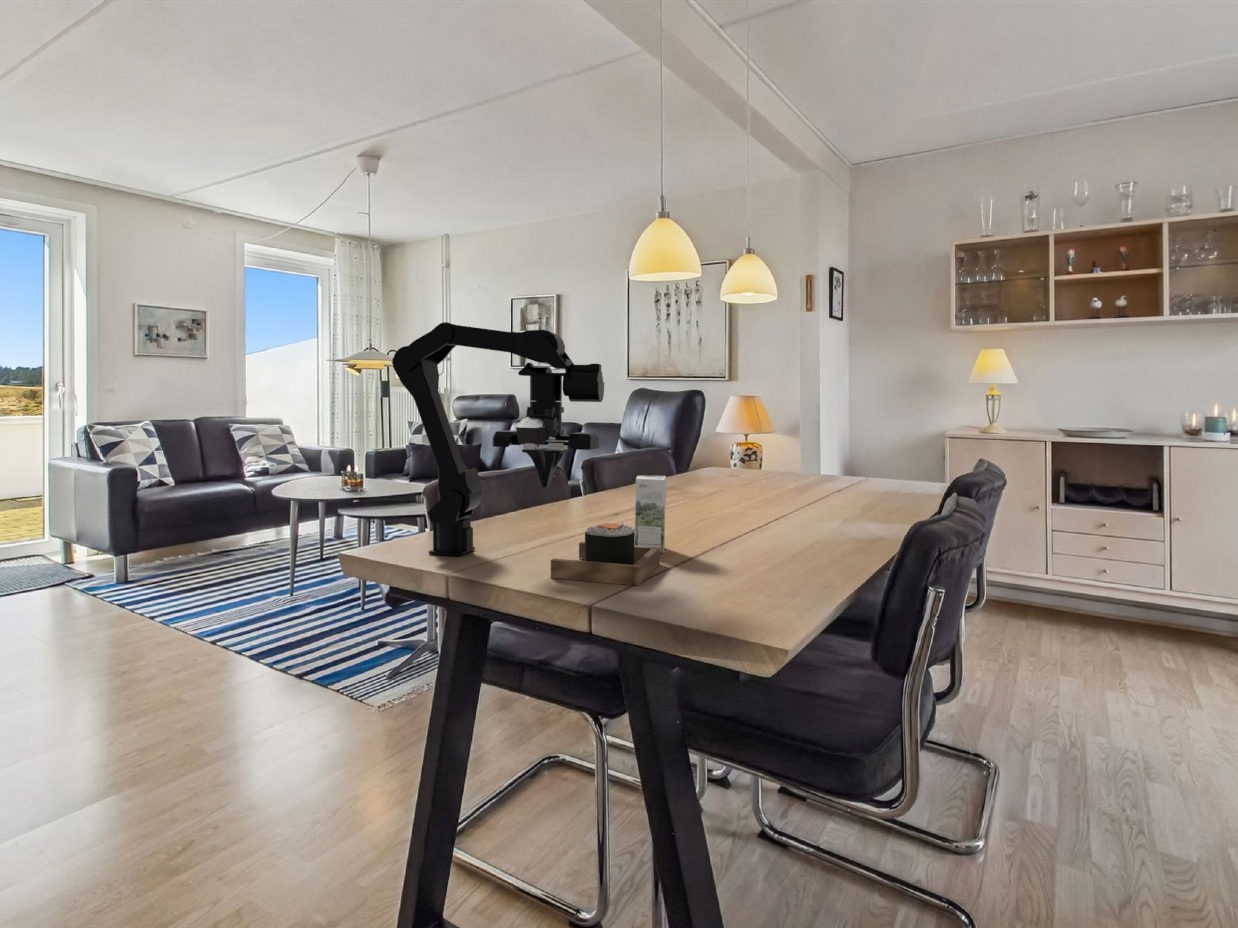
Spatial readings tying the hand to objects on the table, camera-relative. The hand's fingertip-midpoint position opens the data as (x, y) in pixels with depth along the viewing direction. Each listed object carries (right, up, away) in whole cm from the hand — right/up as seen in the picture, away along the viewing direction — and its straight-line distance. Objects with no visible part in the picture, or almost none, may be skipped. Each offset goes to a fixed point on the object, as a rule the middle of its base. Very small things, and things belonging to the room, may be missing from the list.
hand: (545, 487), depth 128 cm
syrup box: (+19, -13, +8) cm, 25 cm away
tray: (+12, -14, -8) cm, 20 cm away
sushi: (+12, -14, -8) cm, 20 cm away
